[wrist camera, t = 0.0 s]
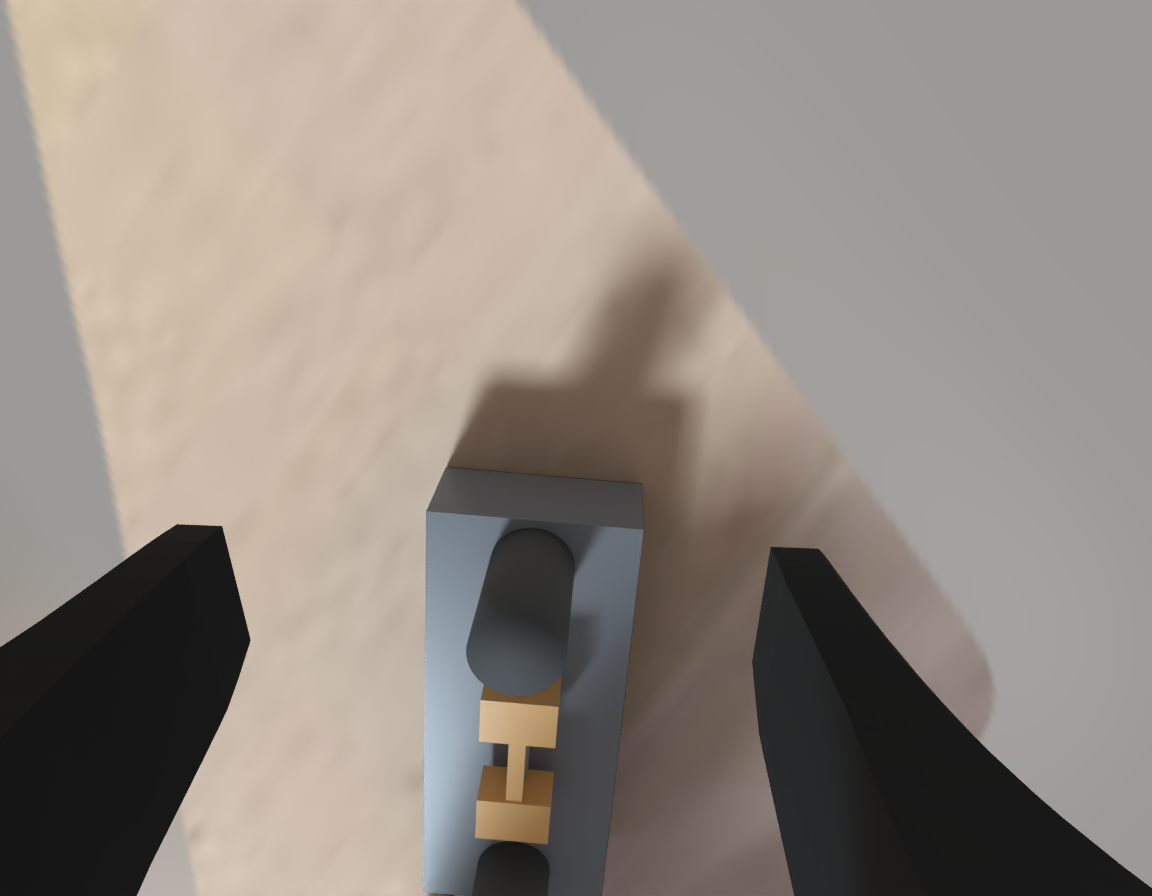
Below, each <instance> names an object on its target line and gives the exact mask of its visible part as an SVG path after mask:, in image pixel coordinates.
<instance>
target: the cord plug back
mask: <svg viewBox="0 0 1152 896" xmlns="http://www.w3.org/2000/svg"><path fill="white" fill-rule="evenodd" d="M549 875H550V867H549V863H548V861H547V859H546V857H545V856H544V855H543V854H542V853H541V852H540V851H539V850H538V849H536V848H534V847H533V846H531V845H528V844H525V843H522V842H516V841H507V842H500V843H497V844H494V845H492V846H490V847H489V848H487V849H486V850H485V851H484V852H483V853H482V854H481V856H480V858H479V860H478V864H477V870H476V876H475V881H474V887H473V892H472V896H548V886H549Z"/></svg>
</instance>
